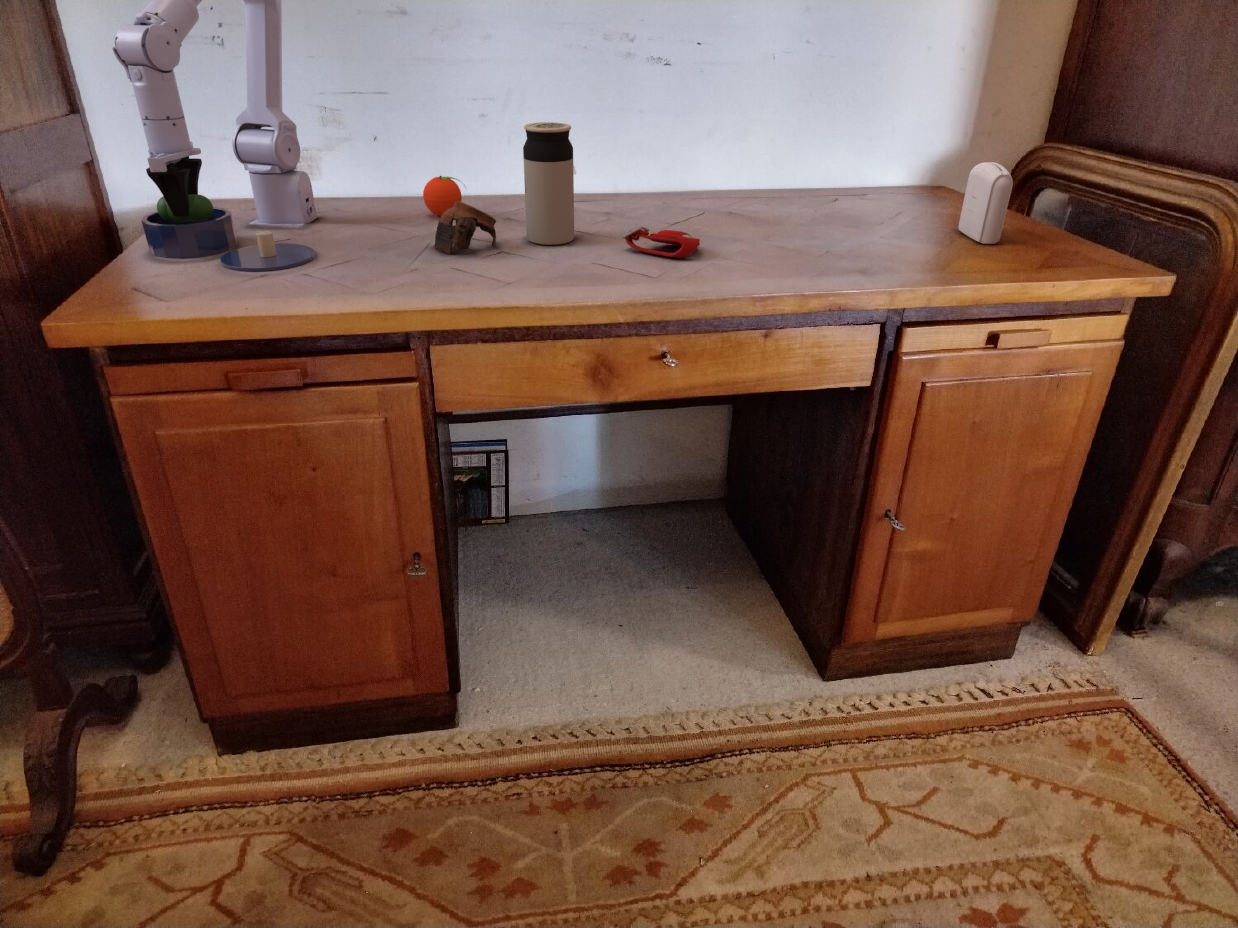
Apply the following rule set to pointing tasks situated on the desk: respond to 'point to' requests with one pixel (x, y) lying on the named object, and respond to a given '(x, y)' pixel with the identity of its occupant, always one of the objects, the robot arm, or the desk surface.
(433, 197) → the clementine
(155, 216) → the crock
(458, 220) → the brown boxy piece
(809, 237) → the desk surface
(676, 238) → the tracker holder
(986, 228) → the photo printer
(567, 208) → the travel mug
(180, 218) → the cucumber
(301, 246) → the crock lid
